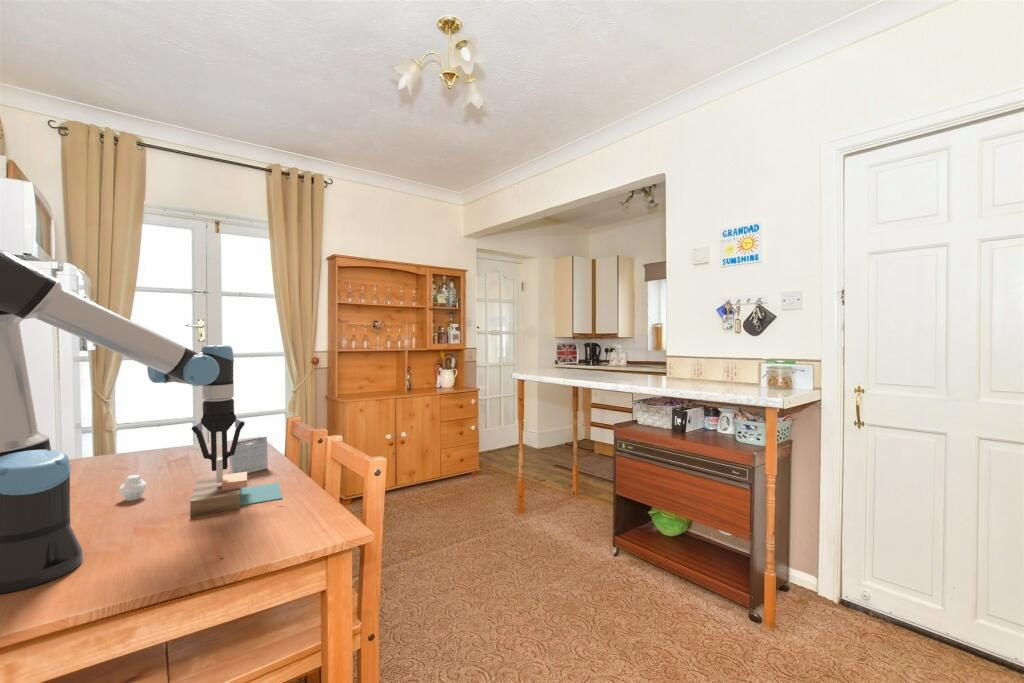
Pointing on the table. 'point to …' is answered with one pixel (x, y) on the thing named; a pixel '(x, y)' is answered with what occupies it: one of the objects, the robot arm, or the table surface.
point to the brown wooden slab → (213, 498)
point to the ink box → (249, 456)
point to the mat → (260, 493)
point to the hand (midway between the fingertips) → (219, 481)
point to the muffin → (133, 488)
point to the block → (234, 481)
